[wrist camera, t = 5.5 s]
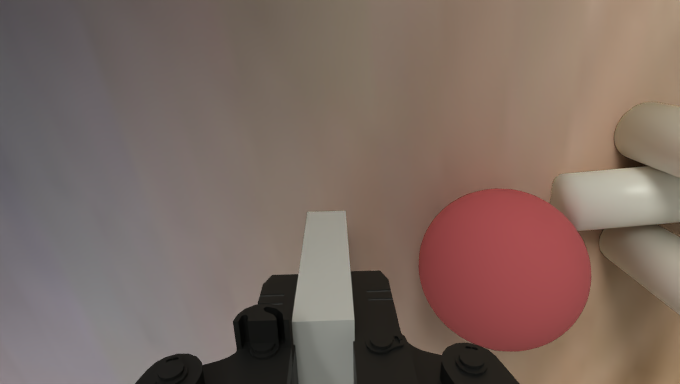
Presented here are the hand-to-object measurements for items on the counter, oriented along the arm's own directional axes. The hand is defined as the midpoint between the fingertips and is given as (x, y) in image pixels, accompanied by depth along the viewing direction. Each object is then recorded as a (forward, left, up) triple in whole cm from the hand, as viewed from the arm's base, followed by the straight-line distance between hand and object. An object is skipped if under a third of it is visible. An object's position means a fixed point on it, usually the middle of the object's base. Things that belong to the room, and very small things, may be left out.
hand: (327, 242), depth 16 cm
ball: (+5, +4, +1) cm, 7 cm away
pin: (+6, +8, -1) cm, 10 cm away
